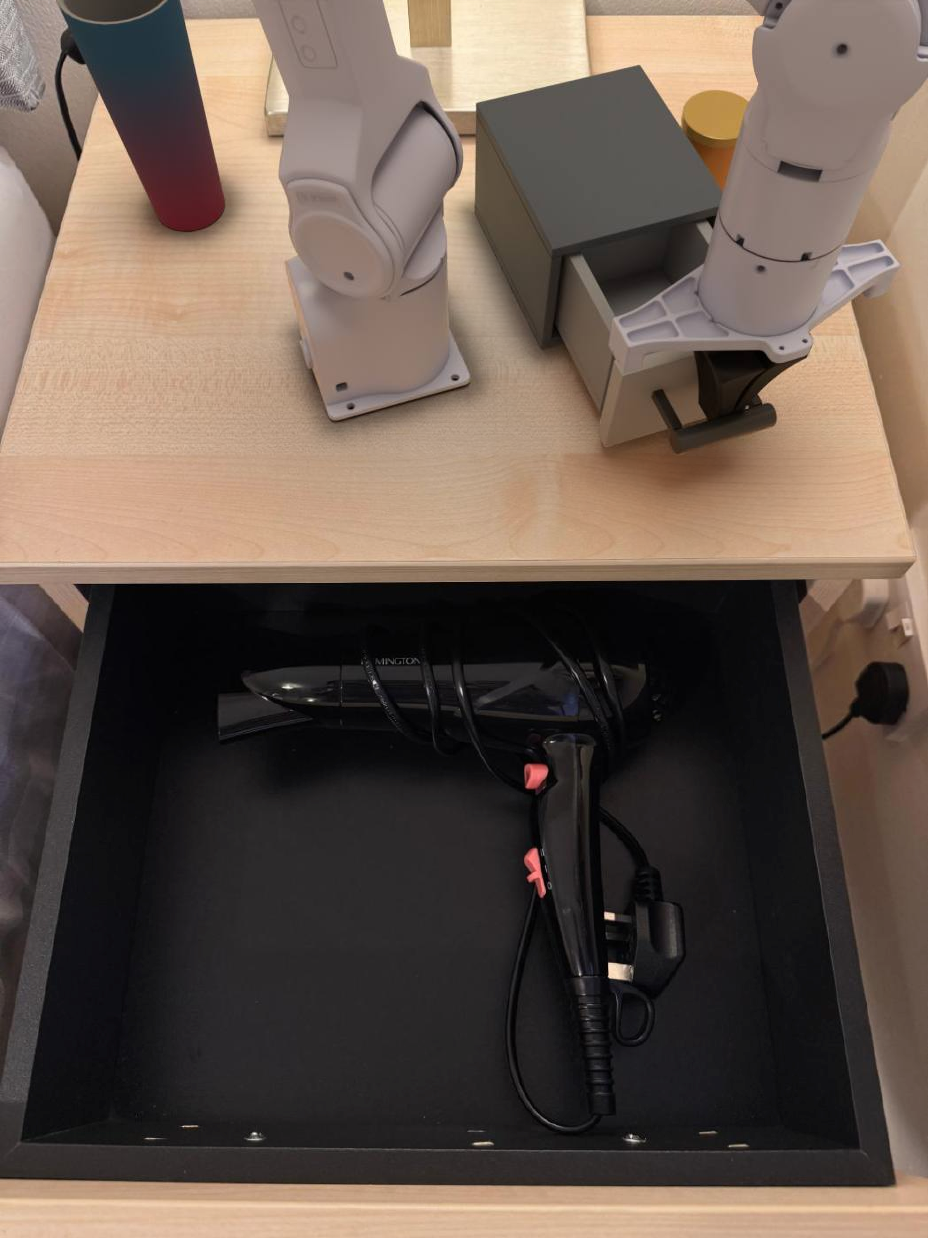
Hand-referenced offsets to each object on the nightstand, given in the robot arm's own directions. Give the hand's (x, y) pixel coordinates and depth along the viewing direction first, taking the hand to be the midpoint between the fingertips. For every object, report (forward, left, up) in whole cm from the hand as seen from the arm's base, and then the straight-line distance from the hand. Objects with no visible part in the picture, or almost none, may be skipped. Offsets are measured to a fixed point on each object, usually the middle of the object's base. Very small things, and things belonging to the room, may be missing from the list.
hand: (716, 411), depth 51 cm
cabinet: (-1, +18, -4) cm, 18 cm away
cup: (-26, +32, -4) cm, 41 cm away
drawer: (-1, +6, -3) cm, 7 cm away
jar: (+10, +22, -4) cm, 24 cm away
